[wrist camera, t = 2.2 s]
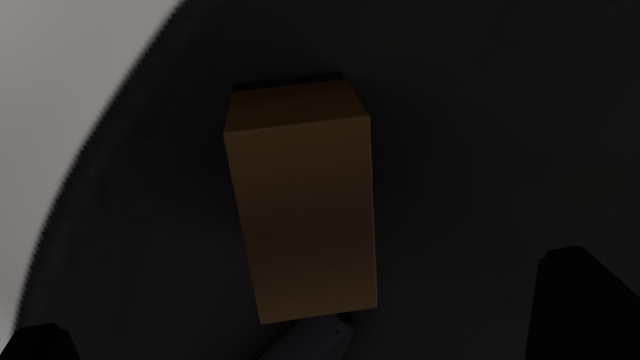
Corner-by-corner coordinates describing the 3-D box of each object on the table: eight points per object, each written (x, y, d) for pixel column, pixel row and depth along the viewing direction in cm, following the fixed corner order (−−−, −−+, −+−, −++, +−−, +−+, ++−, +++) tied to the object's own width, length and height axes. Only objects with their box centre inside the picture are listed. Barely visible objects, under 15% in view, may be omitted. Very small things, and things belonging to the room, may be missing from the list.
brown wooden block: (233, 83, 15) (222, 133, 11) (341, 71, 15) (370, 115, 11) (260, 239, 17) (260, 325, 13) (352, 226, 18) (378, 308, 14)
